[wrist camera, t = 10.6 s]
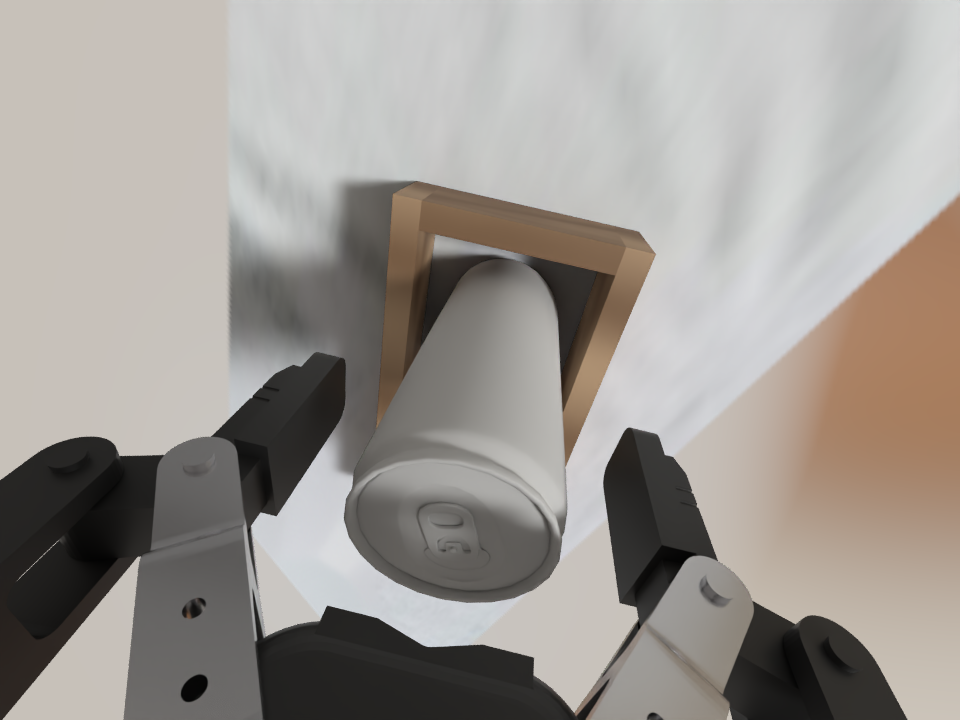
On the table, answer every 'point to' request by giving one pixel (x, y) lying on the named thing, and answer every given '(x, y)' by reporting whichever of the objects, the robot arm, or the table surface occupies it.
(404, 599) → the table surface
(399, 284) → the rack
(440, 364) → the beverage can
